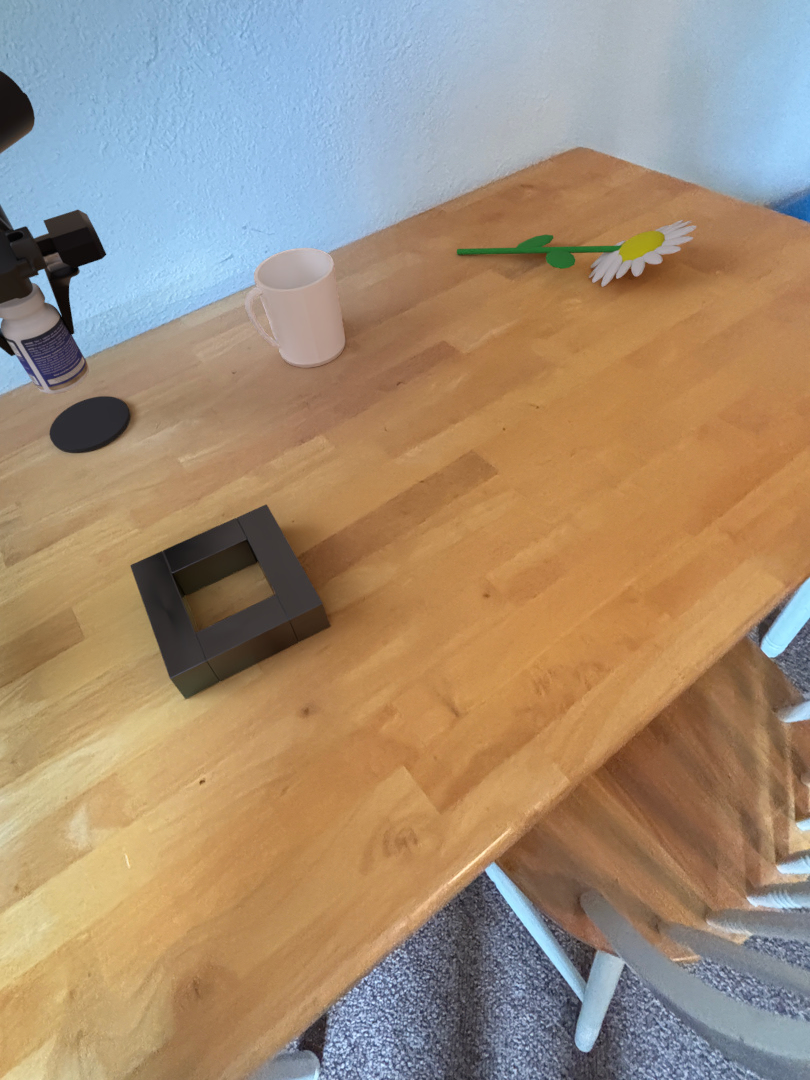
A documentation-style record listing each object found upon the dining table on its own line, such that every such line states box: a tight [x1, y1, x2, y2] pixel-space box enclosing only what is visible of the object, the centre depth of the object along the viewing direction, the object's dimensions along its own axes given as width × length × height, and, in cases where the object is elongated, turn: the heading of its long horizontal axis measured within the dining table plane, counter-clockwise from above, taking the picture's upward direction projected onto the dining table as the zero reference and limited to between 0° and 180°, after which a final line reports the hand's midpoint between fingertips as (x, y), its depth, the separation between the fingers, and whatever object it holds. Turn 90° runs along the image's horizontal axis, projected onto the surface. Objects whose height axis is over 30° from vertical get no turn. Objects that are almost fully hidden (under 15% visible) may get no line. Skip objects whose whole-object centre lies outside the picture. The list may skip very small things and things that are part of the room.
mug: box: [244, 247, 347, 369], centre depth 81 cm, size 11×9×10 cm
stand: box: [129, 504, 332, 700], centre depth 61 cm, size 13×13×4 cm
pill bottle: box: [0, 282, 90, 395], centre depth 71 cm, size 6×6×10 cm
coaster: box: [49, 395, 132, 454], centre depth 80 cm, size 9×9×1 cm
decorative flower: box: [456, 219, 698, 288], centre depth 89 cm, size 13×5×30 cm
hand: (42, 343), depth 72 cm, fingers closed on pill bottle, 6 cm apart
